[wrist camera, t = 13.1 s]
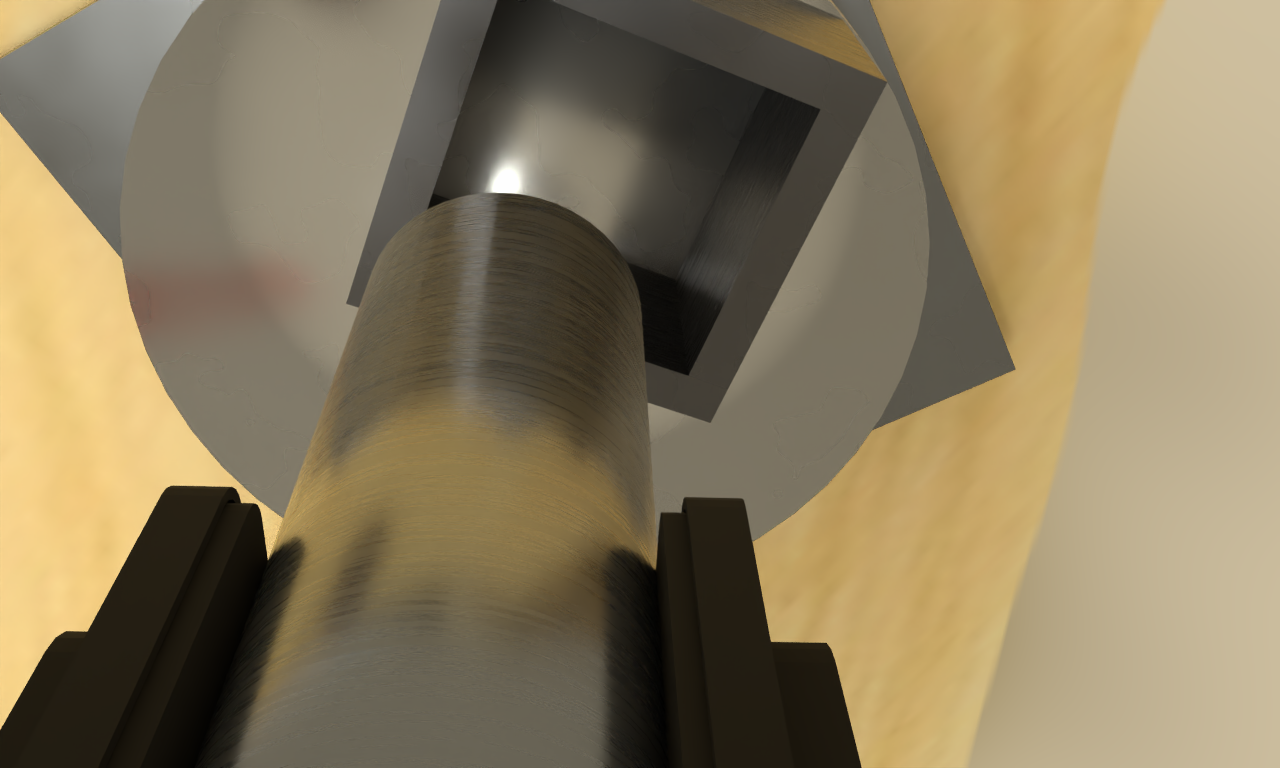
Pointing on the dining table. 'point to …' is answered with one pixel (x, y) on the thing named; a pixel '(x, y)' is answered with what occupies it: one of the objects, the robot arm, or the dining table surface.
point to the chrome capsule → (467, 520)
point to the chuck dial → (551, 170)
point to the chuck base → (162, 3)
